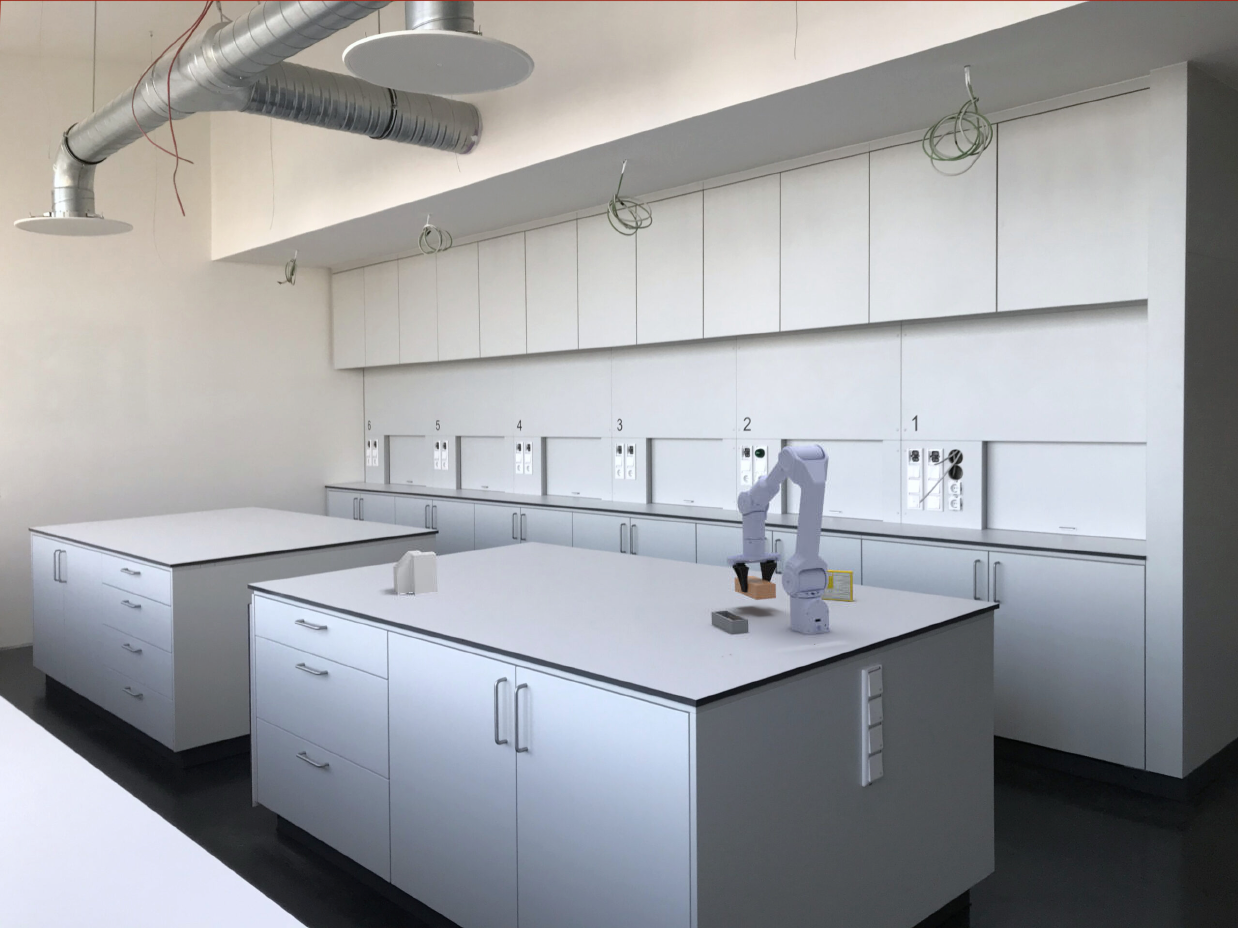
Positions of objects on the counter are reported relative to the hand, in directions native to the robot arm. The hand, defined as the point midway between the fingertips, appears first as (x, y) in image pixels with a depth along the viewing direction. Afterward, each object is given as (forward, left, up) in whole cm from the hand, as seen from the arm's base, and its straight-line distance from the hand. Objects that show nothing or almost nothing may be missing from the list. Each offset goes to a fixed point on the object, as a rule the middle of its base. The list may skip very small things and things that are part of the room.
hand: (755, 590), depth 246 cm
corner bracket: (+75, +77, -6) cm, 108 cm away
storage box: (-14, +14, -6) cm, 21 cm away
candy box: (+10, -26, -7) cm, 29 cm away
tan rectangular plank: (0, 0, -1) cm, 1 cm away
